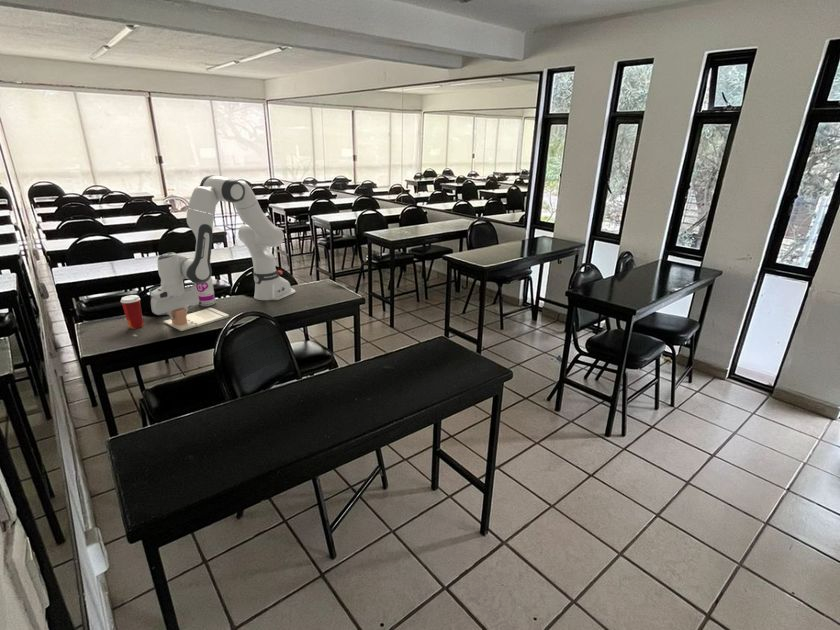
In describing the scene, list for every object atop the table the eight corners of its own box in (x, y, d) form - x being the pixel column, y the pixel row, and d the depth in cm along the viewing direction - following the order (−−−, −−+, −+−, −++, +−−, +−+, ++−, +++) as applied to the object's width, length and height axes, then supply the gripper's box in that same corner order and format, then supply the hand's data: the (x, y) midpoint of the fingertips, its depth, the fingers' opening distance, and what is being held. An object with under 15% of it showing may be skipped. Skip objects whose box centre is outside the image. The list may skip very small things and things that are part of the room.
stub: (178, 318, 219) (175, 302, 216) (196, 326, 210) (193, 310, 208) (163, 322, 214) (160, 306, 211) (181, 331, 205) (178, 314, 202)
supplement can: (211, 306, 235) (207, 278, 230) (195, 306, 235) (190, 278, 230) (218, 301, 243) (214, 274, 237) (203, 301, 243) (198, 273, 237)
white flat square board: (211, 309, 232) (210, 307, 231) (229, 316, 223) (229, 314, 222) (179, 318, 220) (179, 316, 219) (197, 326, 211) (197, 324, 210)
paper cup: (149, 323, 214) (143, 295, 208) (138, 330, 206) (132, 300, 201) (134, 322, 214) (127, 294, 209) (122, 329, 207) (115, 299, 202)
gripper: (192, 282, 215) (197, 310, 220) (146, 293, 200) (152, 322, 205) (199, 285, 212) (204, 313, 217) (153, 296, 197) (159, 326, 202)
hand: (178, 317), depth 211 cm, fingers closed on stub, 4 cm apart
